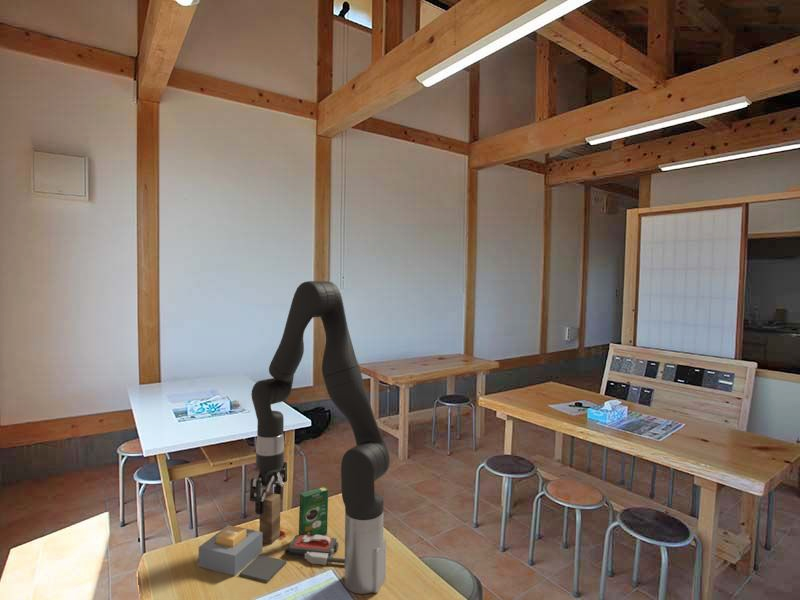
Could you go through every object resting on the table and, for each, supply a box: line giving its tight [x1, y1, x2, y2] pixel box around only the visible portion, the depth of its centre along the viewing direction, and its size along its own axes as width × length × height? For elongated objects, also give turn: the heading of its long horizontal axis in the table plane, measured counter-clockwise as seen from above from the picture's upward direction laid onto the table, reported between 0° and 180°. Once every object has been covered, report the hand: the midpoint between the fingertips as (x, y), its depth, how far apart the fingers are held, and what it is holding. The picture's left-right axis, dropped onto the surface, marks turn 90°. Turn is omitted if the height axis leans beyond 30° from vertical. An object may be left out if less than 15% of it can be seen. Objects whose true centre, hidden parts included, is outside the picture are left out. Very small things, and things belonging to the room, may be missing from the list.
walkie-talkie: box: [283, 534, 345, 566], centre depth 116 cm, size 9×4×20 cm
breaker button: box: [216, 525, 248, 548], centre depth 113 cm, size 5×5×4 cm
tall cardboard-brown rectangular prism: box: [258, 491, 281, 545], centre depth 123 cm, size 4×4×12 cm
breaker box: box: [198, 524, 263, 577], centre depth 114 cm, size 11×11×5 cm
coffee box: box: [298, 486, 329, 536], centre depth 124 cm, size 8×3×13 cm, turn 129°
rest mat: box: [239, 554, 287, 583], centre depth 109 cm, size 8×8×1 cm
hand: (269, 506), depth 123 cm, fingers open, 8 cm apart
